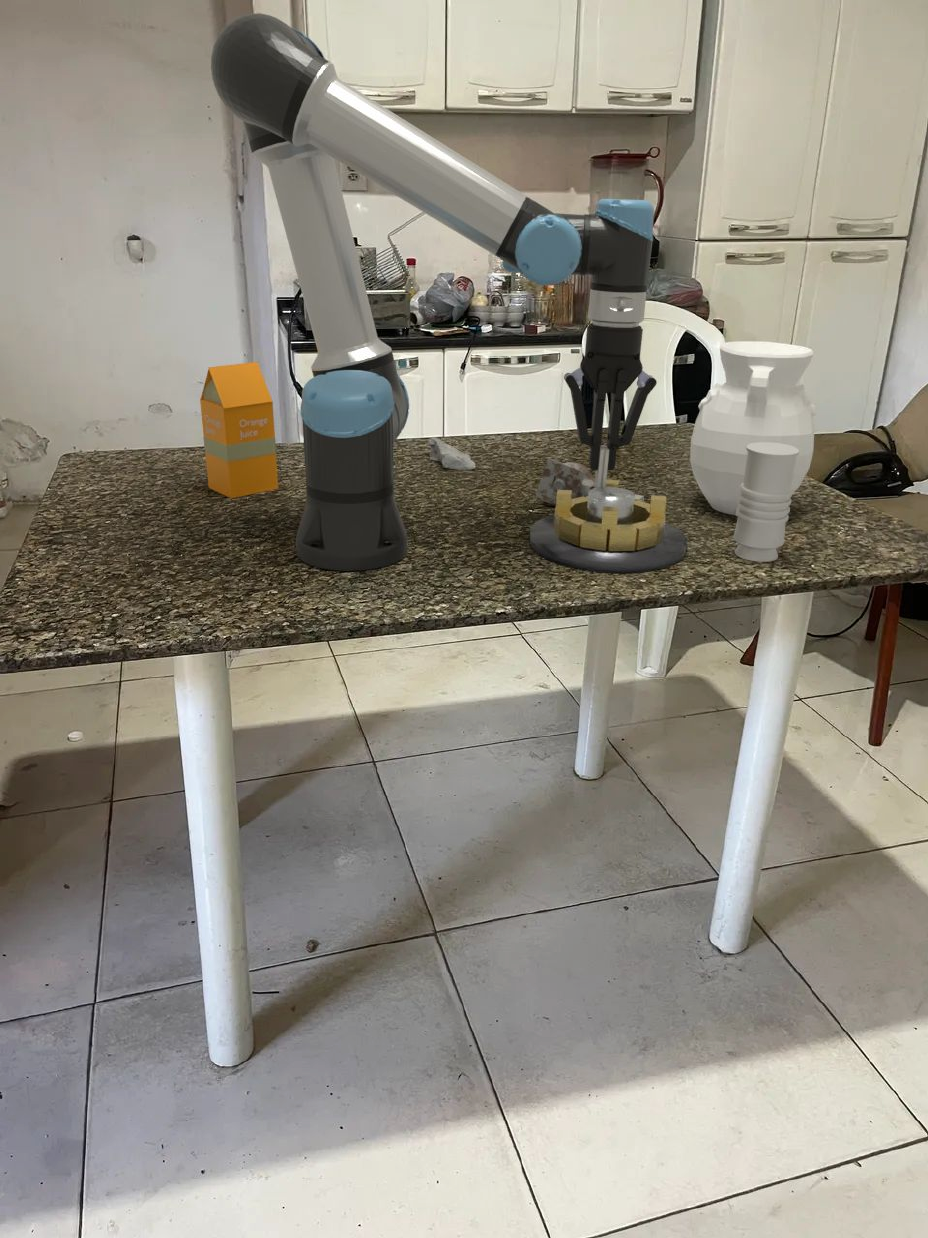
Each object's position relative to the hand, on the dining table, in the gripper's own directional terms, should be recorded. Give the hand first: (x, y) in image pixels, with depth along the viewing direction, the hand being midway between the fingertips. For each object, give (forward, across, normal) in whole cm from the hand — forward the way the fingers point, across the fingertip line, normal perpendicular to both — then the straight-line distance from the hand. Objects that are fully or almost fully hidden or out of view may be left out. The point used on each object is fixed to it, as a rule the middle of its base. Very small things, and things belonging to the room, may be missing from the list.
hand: (599, 491), depth 138 cm
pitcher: (+6, +25, +12) cm, 28 cm away
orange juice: (+7, -56, +19) cm, 59 cm away
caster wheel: (+6, 0, +13) cm, 14 cm away
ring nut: (+4, +1, -6) cm, 8 cm away
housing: (+6, +1, -6) cm, 9 cm away
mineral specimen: (+7, -22, +36) cm, 43 cm away
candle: (+6, +21, -10) cm, 24 cm away
